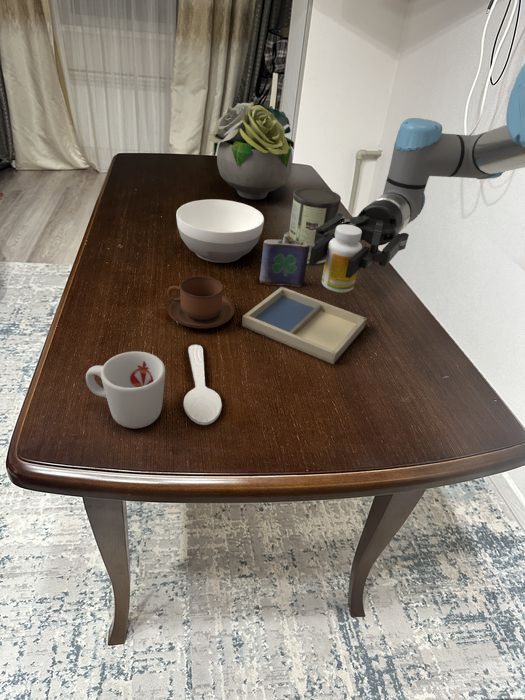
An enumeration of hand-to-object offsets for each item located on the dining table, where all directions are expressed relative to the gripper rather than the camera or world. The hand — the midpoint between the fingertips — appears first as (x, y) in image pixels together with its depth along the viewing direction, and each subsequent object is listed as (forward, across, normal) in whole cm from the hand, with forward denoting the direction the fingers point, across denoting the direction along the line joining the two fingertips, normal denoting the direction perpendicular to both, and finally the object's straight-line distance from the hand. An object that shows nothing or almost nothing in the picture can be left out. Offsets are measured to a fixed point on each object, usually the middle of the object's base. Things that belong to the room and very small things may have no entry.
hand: (330, 262), depth 73 cm
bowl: (-21, +34, -17) cm, 43 cm away
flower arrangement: (-59, +49, -17) cm, 78 cm away
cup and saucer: (+3, +21, -17) cm, 27 cm away
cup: (+29, +14, -17) cm, 37 cm away
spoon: (+18, +10, -16) cm, 27 cm away
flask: (-18, +16, -17) cm, 29 cm away
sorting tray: (-6, +5, -16) cm, 18 cm away
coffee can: (-34, +18, -17) cm, 42 cm away
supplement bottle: (-5, 0, -6) cm, 8 cm away
